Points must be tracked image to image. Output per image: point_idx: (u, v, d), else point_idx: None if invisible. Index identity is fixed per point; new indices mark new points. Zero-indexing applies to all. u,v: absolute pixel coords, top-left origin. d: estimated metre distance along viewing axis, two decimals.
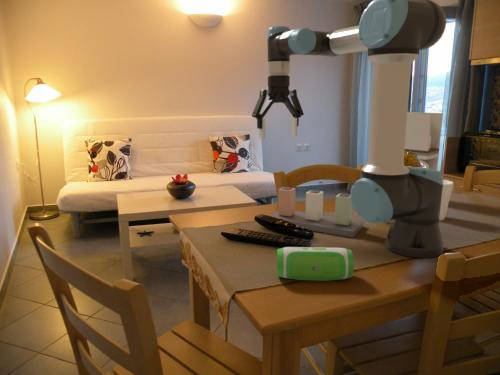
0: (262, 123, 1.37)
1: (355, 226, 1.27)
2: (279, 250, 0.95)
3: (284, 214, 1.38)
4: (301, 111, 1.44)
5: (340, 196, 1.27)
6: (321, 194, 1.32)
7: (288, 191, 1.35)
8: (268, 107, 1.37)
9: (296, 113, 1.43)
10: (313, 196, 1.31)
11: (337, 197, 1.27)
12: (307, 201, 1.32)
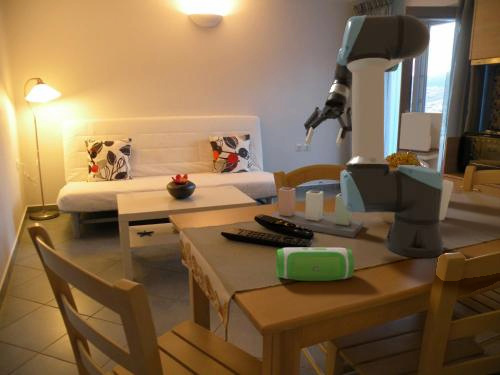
0: (309, 130, 1.49)
1: (355, 226, 1.27)
2: (279, 251, 0.95)
3: (284, 214, 1.38)
4: (349, 123, 1.44)
5: (340, 196, 1.27)
6: (321, 194, 1.32)
7: (288, 191, 1.35)
8: (318, 118, 1.51)
9: (343, 125, 1.45)
10: (313, 196, 1.31)
11: (337, 197, 1.27)
12: (307, 201, 1.32)
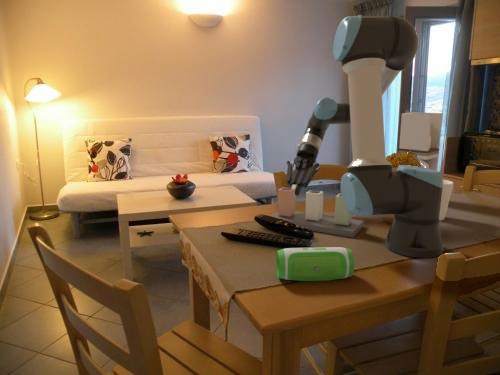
0: None
1: (355, 226, 1.27)
2: (279, 251, 0.94)
3: (283, 214, 1.37)
4: (305, 180, 1.42)
5: (340, 196, 1.27)
6: (321, 194, 1.32)
7: (287, 191, 1.35)
8: (295, 173, 1.46)
9: (299, 180, 1.43)
10: (313, 196, 1.31)
11: (337, 197, 1.27)
12: (307, 201, 1.32)
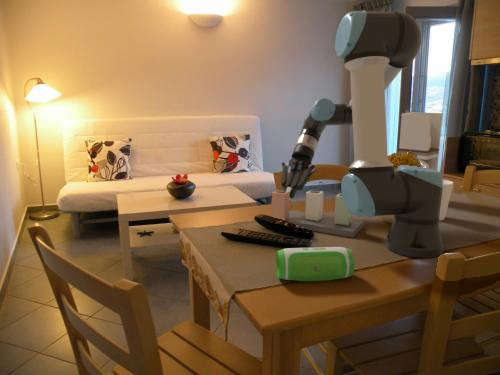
0: (286, 190, 1.39)
1: (355, 226, 1.27)
2: (280, 252, 0.94)
3: (278, 218, 1.33)
4: (300, 182, 1.38)
5: (340, 196, 1.27)
6: (321, 194, 1.32)
7: (282, 194, 1.31)
8: (290, 175, 1.42)
9: (294, 183, 1.39)
10: (313, 196, 1.31)
11: (337, 197, 1.27)
12: (307, 201, 1.32)
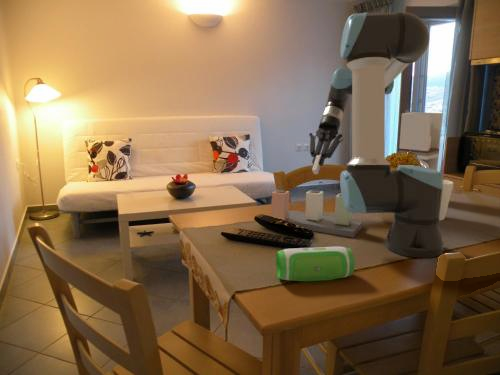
0: (315, 158, 1.44)
1: (355, 226, 1.27)
2: (280, 252, 0.94)
3: (278, 218, 1.33)
4: (329, 150, 1.44)
5: (340, 196, 1.27)
6: (321, 194, 1.32)
7: (282, 194, 1.31)
8: (318, 144, 1.47)
9: (323, 151, 1.45)
10: (313, 196, 1.31)
11: (337, 197, 1.27)
12: (307, 201, 1.32)
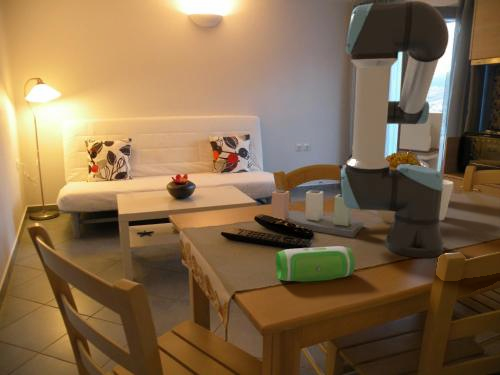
0: None
1: (355, 226, 1.27)
2: (280, 253, 0.94)
3: (278, 218, 1.33)
4: None
5: (339, 197, 1.26)
6: (321, 194, 1.32)
7: (282, 194, 1.31)
8: None
9: None
10: (313, 196, 1.31)
11: (336, 198, 1.26)
12: (307, 201, 1.32)
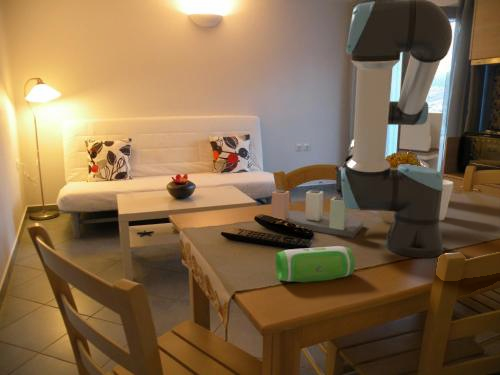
0: (342, 197, 1.29)
1: (355, 226, 1.27)
2: (281, 253, 0.93)
3: (278, 218, 1.33)
4: None
5: (335, 200, 1.22)
6: (321, 194, 1.32)
7: (282, 194, 1.31)
8: None
9: None
10: (313, 196, 1.31)
11: (332, 201, 1.23)
12: (307, 201, 1.32)
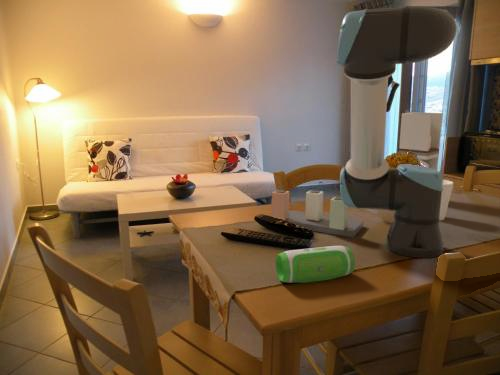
0: None
1: (355, 226, 1.27)
2: (282, 255, 0.93)
3: (278, 218, 1.33)
4: (387, 107, 1.35)
5: (335, 200, 1.22)
6: (321, 194, 1.32)
7: (282, 194, 1.31)
8: None
9: None
10: (313, 196, 1.31)
11: (332, 201, 1.23)
12: (307, 201, 1.32)
